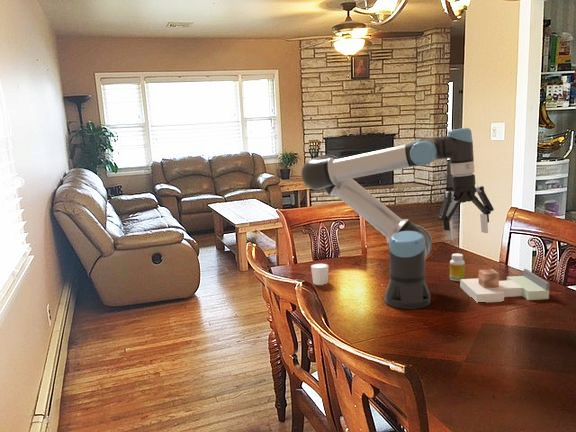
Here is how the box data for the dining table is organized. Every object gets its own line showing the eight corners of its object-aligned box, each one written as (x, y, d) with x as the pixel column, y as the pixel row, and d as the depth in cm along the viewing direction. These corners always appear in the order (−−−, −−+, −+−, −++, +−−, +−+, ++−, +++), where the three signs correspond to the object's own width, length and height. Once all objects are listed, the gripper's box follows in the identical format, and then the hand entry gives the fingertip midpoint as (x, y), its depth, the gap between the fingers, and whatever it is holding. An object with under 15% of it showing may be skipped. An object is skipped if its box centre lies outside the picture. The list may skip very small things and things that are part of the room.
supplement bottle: (461, 282, 187) (462, 257, 185) (447, 280, 190) (447, 255, 189) (466, 278, 191) (466, 253, 190) (452, 276, 195) (452, 252, 193)
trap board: (477, 303, 166) (477, 287, 165) (460, 287, 182) (460, 272, 181) (548, 298, 166) (549, 283, 165) (525, 283, 182) (526, 268, 181)
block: (484, 288, 171) (484, 274, 170) (478, 283, 176) (478, 269, 175) (498, 287, 171) (499, 273, 170) (492, 282, 176) (492, 269, 175)
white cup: (329, 279, 199) (328, 262, 197) (329, 285, 192) (328, 267, 191) (312, 280, 199) (311, 263, 198) (311, 285, 193) (310, 268, 191)
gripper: (436, 180, 162) (441, 244, 165) (502, 169, 168) (506, 231, 171) (424, 179, 169) (429, 240, 173) (487, 169, 175) (492, 228, 178)
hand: (467, 235), depth 172 cm, fingers open, 13 cm apart
